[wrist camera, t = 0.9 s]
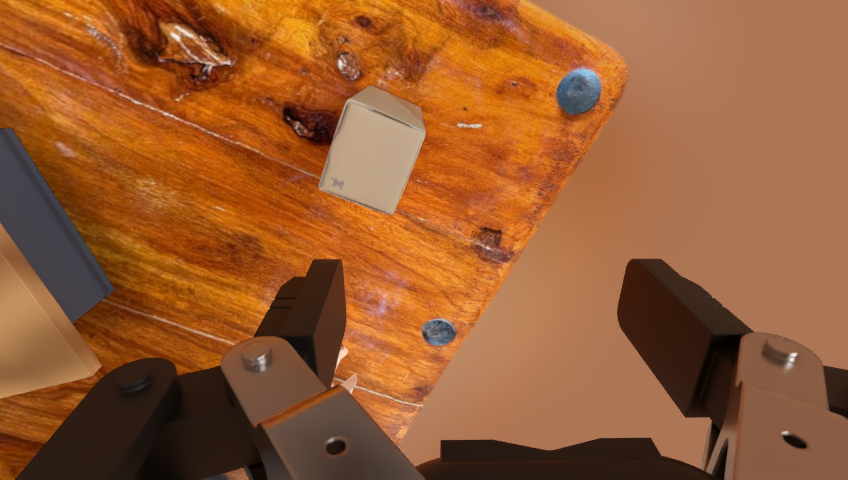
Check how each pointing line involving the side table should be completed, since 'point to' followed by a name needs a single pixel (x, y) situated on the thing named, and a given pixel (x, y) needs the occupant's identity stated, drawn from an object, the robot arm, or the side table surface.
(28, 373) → the board
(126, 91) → the side table surface
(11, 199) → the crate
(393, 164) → the box
